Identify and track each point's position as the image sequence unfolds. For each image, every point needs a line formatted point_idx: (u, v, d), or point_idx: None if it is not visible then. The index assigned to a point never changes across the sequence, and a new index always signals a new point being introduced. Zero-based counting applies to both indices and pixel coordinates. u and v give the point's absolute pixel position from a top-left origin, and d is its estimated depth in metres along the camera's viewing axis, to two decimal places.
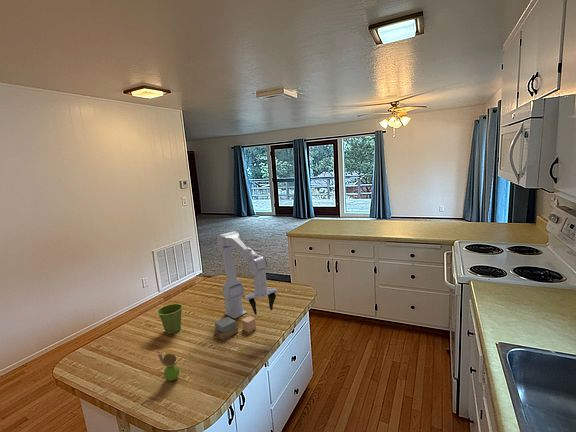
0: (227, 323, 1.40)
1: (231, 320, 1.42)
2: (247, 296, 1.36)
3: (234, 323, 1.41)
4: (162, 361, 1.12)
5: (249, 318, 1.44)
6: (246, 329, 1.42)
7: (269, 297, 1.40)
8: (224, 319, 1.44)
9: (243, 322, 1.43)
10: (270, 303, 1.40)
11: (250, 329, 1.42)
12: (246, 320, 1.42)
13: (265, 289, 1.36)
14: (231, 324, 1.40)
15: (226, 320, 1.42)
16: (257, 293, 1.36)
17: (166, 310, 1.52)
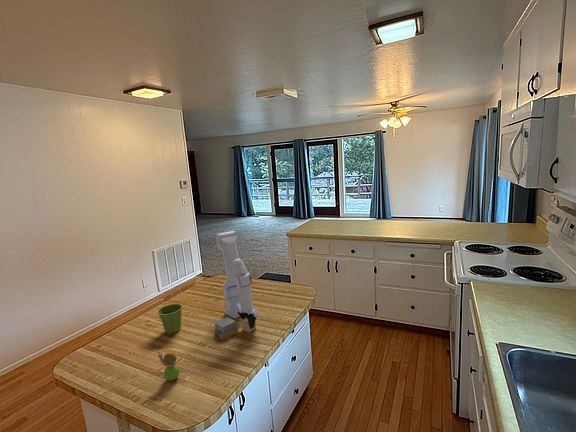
0: (227, 323, 1.40)
1: (231, 320, 1.42)
2: (238, 304, 1.47)
3: (234, 323, 1.41)
4: (162, 361, 1.12)
5: None
6: (246, 329, 1.42)
7: None
8: (224, 319, 1.44)
9: (243, 322, 1.43)
10: None
11: (250, 329, 1.42)
12: (246, 320, 1.42)
13: (243, 306, 1.39)
14: (231, 324, 1.40)
15: (226, 321, 1.42)
16: None
17: (166, 310, 1.52)
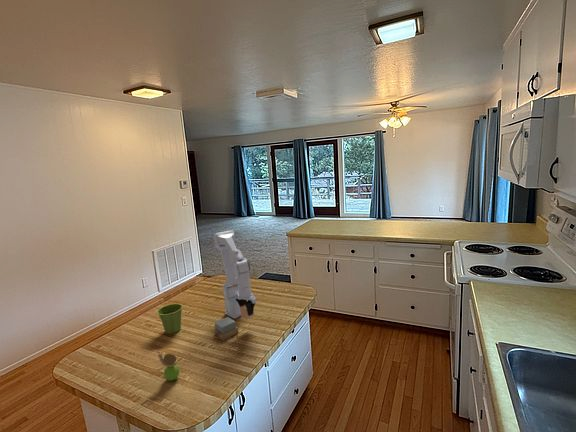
0: (226, 323, 1.40)
1: (231, 320, 1.42)
2: (237, 291, 1.46)
3: (234, 323, 1.41)
4: (162, 361, 1.12)
5: None
6: (244, 316, 1.41)
7: None
8: (224, 319, 1.44)
9: (241, 309, 1.42)
10: None
11: (248, 316, 1.41)
12: (244, 307, 1.41)
13: (242, 293, 1.38)
14: (231, 324, 1.40)
15: (225, 321, 1.42)
16: None
17: (166, 310, 1.52)
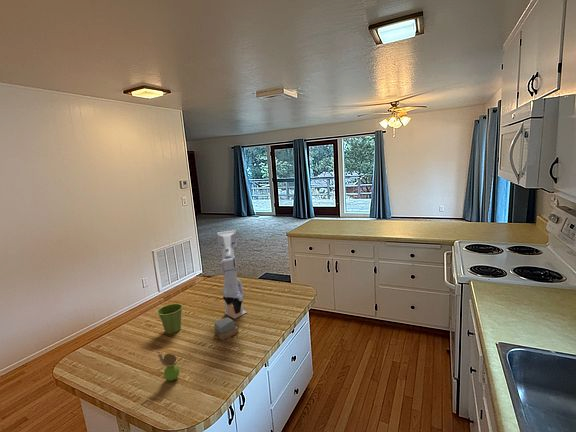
0: (226, 324, 1.39)
1: (230, 321, 1.42)
2: (224, 289, 1.45)
3: (233, 324, 1.40)
4: (162, 361, 1.12)
5: None
6: (231, 314, 1.39)
7: None
8: (224, 319, 1.44)
9: (228, 307, 1.40)
10: None
11: (236, 314, 1.39)
12: (231, 305, 1.40)
13: (229, 291, 1.37)
14: (230, 325, 1.40)
15: (225, 321, 1.42)
16: None
17: (166, 310, 1.52)
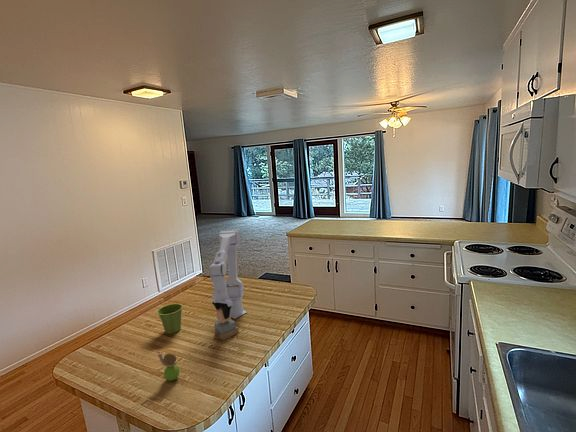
0: (226, 324, 1.39)
1: (231, 321, 1.42)
2: (213, 294, 1.44)
3: (233, 324, 1.40)
4: (162, 361, 1.12)
5: None
6: (220, 319, 1.39)
7: None
8: None
9: (218, 312, 1.40)
10: None
11: (225, 319, 1.39)
12: (221, 310, 1.39)
13: (217, 296, 1.37)
14: (230, 325, 1.39)
15: None
16: None
17: (166, 310, 1.52)
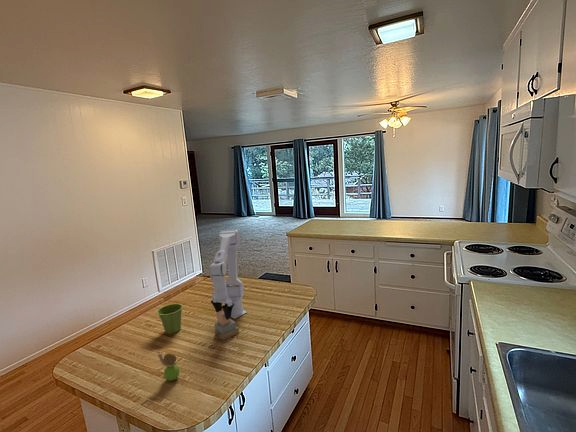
0: (226, 324, 1.39)
1: (231, 321, 1.41)
2: (213, 294, 1.44)
3: (234, 324, 1.40)
4: (162, 361, 1.12)
5: None
6: (220, 322, 1.39)
7: None
8: None
9: (218, 315, 1.40)
10: None
11: (224, 322, 1.39)
12: (221, 313, 1.40)
13: (217, 296, 1.37)
14: (231, 325, 1.39)
15: None
16: None
17: (166, 310, 1.52)
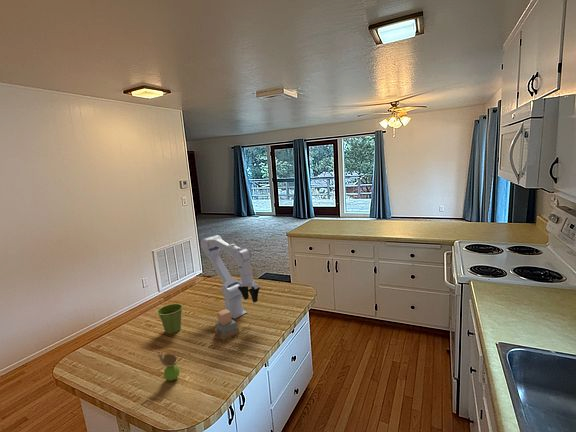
0: (227, 324, 1.39)
1: (232, 321, 1.41)
2: (240, 281, 1.54)
3: (234, 324, 1.40)
4: (162, 361, 1.12)
5: (225, 311, 1.41)
6: (221, 322, 1.39)
7: None
8: None
9: (218, 315, 1.40)
10: None
11: (225, 322, 1.39)
12: (221, 313, 1.40)
13: (244, 280, 1.46)
14: (231, 325, 1.39)
15: None
16: None
17: (166, 310, 1.52)
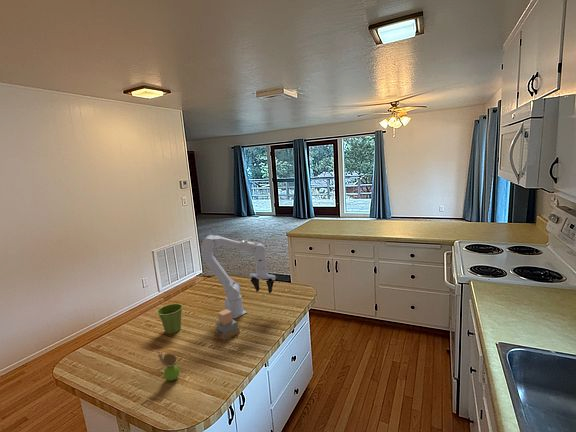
0: (228, 324, 1.39)
1: None
2: (251, 274, 1.61)
3: (235, 324, 1.40)
4: (162, 361, 1.12)
5: (226, 311, 1.41)
6: (222, 322, 1.39)
7: None
8: None
9: (219, 315, 1.40)
10: None
11: (226, 322, 1.39)
12: (222, 313, 1.39)
13: (261, 273, 1.55)
14: (232, 325, 1.39)
15: None
16: (256, 274, 1.58)
17: (166, 310, 1.52)
